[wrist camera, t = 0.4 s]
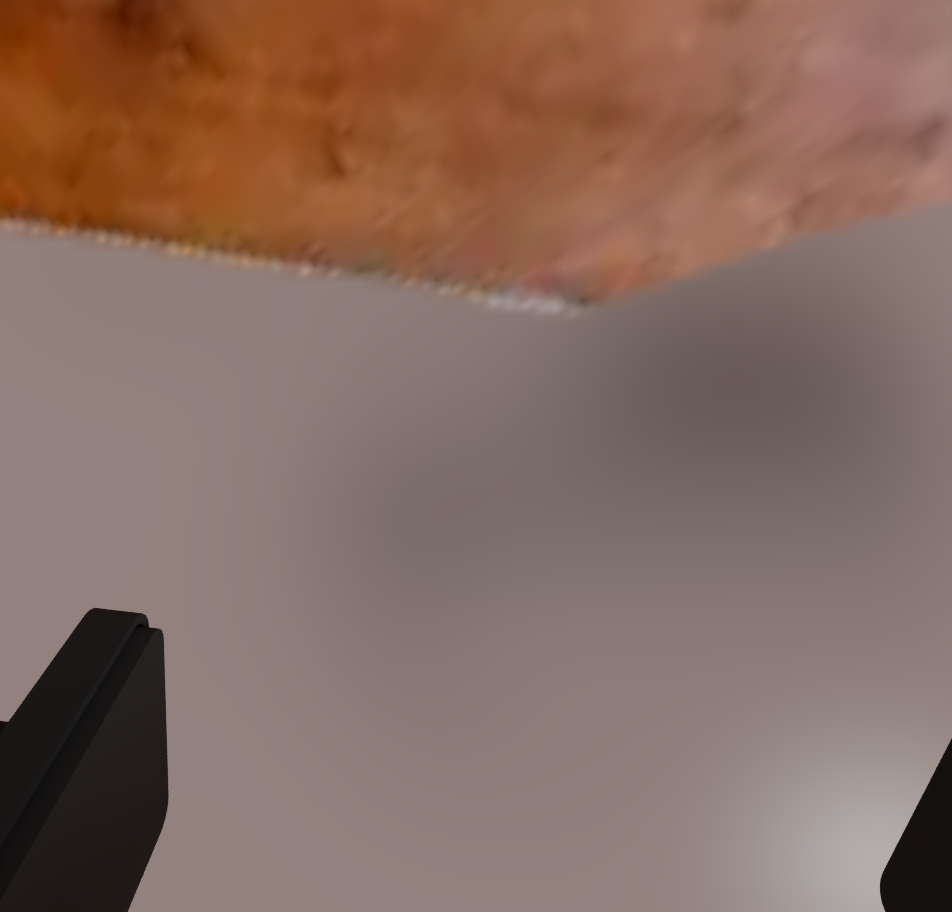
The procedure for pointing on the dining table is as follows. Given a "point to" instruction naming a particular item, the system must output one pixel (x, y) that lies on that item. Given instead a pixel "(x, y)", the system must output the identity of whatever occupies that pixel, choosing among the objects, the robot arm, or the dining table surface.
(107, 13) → the dining table surface
